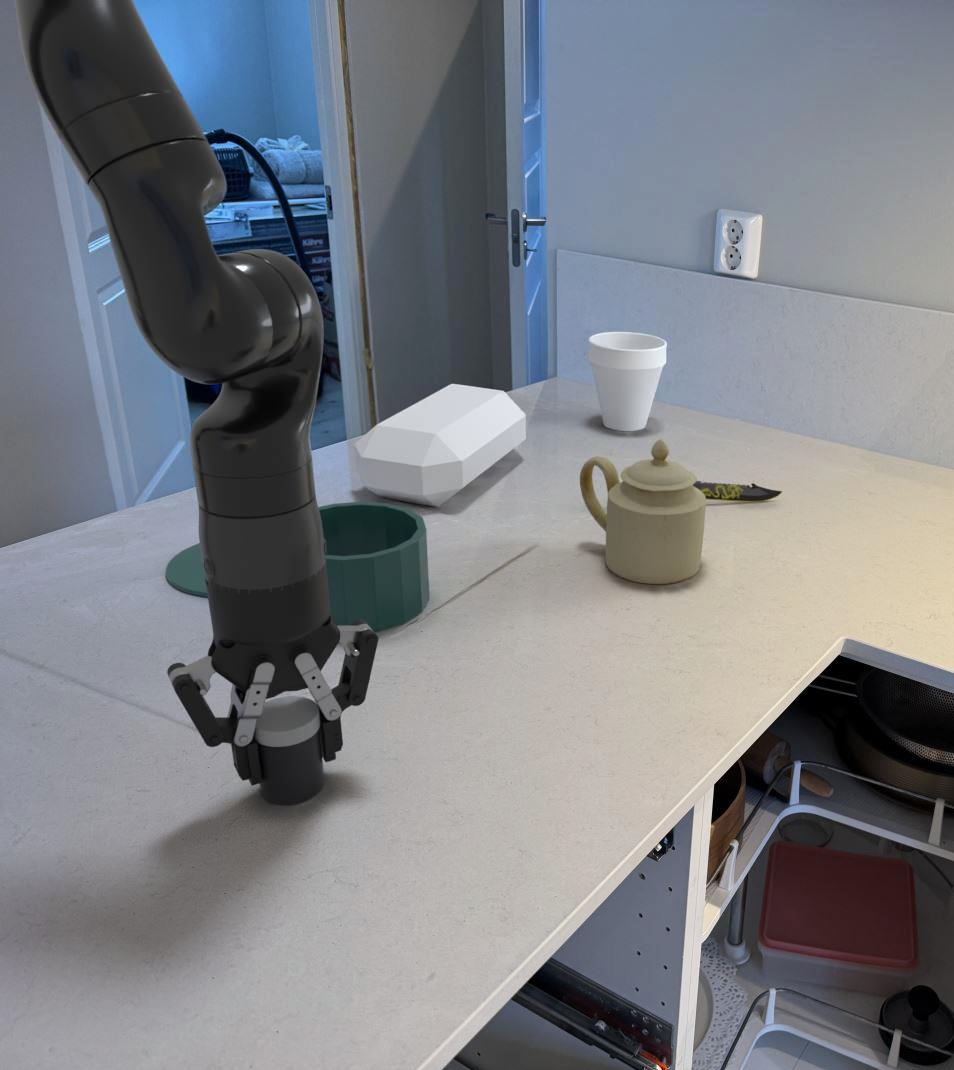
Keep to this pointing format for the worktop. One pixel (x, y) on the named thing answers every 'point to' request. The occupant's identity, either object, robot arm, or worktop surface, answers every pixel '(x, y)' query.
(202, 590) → the lid
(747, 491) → the knife
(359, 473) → the crystal
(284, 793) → the black jar
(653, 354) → the cup
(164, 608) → the worktop surface
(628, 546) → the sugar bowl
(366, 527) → the pot
